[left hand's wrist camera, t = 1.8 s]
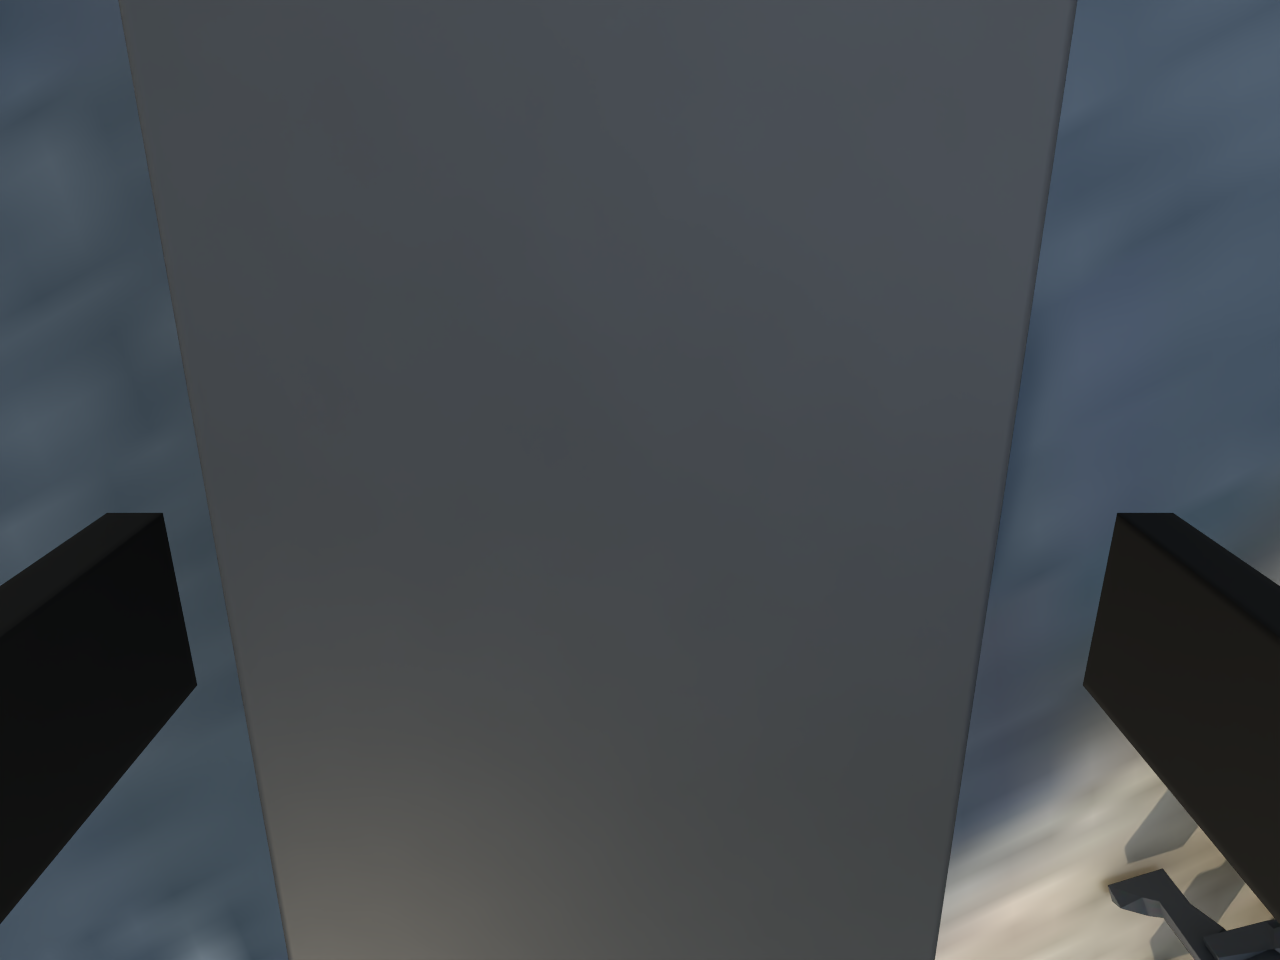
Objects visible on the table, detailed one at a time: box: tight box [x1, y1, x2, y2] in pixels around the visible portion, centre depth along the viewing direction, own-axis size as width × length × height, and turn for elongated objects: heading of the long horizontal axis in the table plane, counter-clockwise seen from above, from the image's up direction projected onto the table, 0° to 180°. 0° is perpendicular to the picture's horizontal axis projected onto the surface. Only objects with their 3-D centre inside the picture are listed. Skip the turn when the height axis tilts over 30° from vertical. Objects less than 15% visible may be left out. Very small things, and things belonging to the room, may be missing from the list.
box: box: [118, 0, 1077, 960], centre depth 12 cm, size 20×6×12 cm, turn 0°
